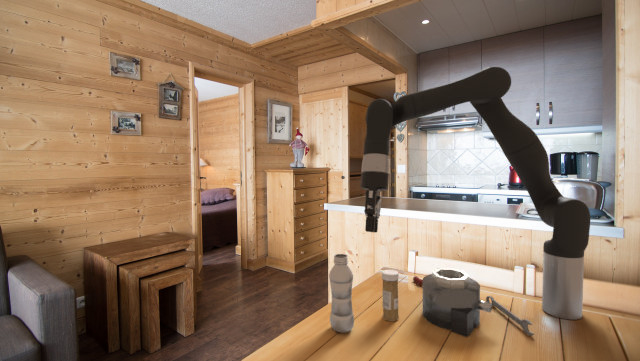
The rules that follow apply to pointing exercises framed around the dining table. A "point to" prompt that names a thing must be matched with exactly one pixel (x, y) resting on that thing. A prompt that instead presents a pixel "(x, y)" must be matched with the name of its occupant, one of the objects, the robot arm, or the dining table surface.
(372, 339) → the dining table surface
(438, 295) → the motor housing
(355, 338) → the dining table surface
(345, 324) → the plastic bottle
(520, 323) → the combination wrench
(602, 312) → the dining table surface
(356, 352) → the dining table surface
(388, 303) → the spice jar
